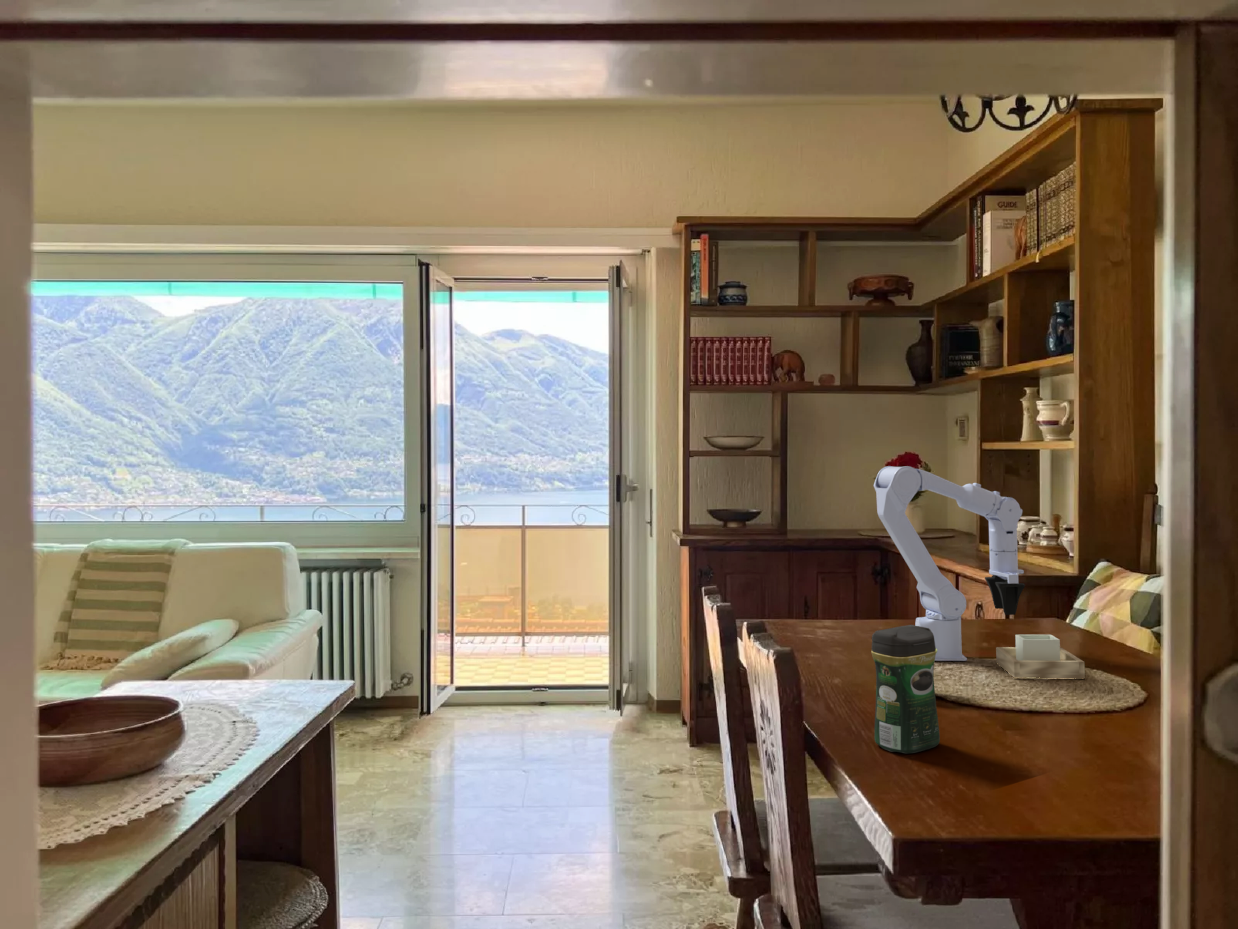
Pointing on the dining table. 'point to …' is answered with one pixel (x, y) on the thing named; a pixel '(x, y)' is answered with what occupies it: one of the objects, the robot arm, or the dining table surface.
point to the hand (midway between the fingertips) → (1005, 611)
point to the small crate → (1037, 647)
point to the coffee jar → (905, 689)
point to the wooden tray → (1040, 665)
